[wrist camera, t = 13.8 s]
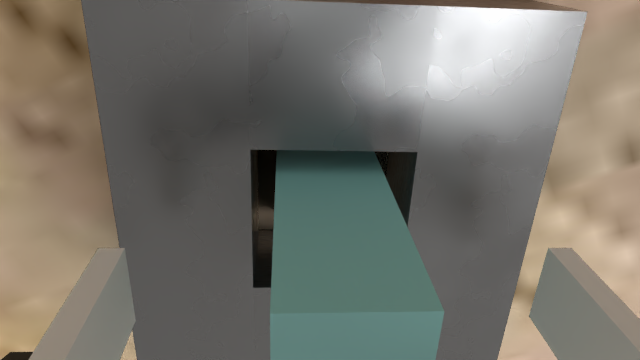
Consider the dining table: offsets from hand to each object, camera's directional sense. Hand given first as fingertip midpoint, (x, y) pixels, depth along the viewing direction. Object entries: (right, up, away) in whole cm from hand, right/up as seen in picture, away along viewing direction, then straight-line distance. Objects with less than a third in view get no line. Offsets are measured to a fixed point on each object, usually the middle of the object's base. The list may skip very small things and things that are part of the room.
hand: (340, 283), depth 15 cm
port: (0, +3, +7) cm, 8 cm away
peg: (-1, +4, +7) cm, 8 cm away
